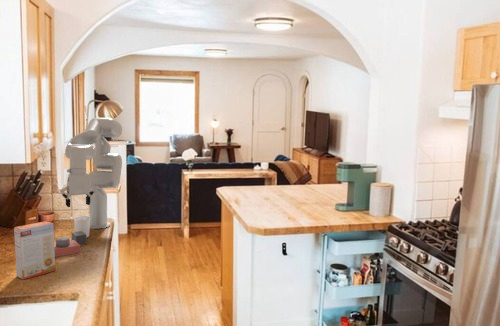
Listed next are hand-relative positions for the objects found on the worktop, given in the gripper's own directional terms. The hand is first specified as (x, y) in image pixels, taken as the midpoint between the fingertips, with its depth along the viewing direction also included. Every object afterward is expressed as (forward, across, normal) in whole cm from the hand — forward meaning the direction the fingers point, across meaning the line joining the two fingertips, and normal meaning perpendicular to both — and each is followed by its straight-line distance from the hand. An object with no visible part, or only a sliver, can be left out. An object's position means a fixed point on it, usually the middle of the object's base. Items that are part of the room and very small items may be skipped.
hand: (78, 205), depth 236 cm
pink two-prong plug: (+20, -11, -5) cm, 23 cm away
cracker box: (+21, -29, -29) cm, 46 cm away
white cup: (+19, +6, +11) cm, 23 cm away
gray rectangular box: (+19, +1, +1) cm, 19 cm away
